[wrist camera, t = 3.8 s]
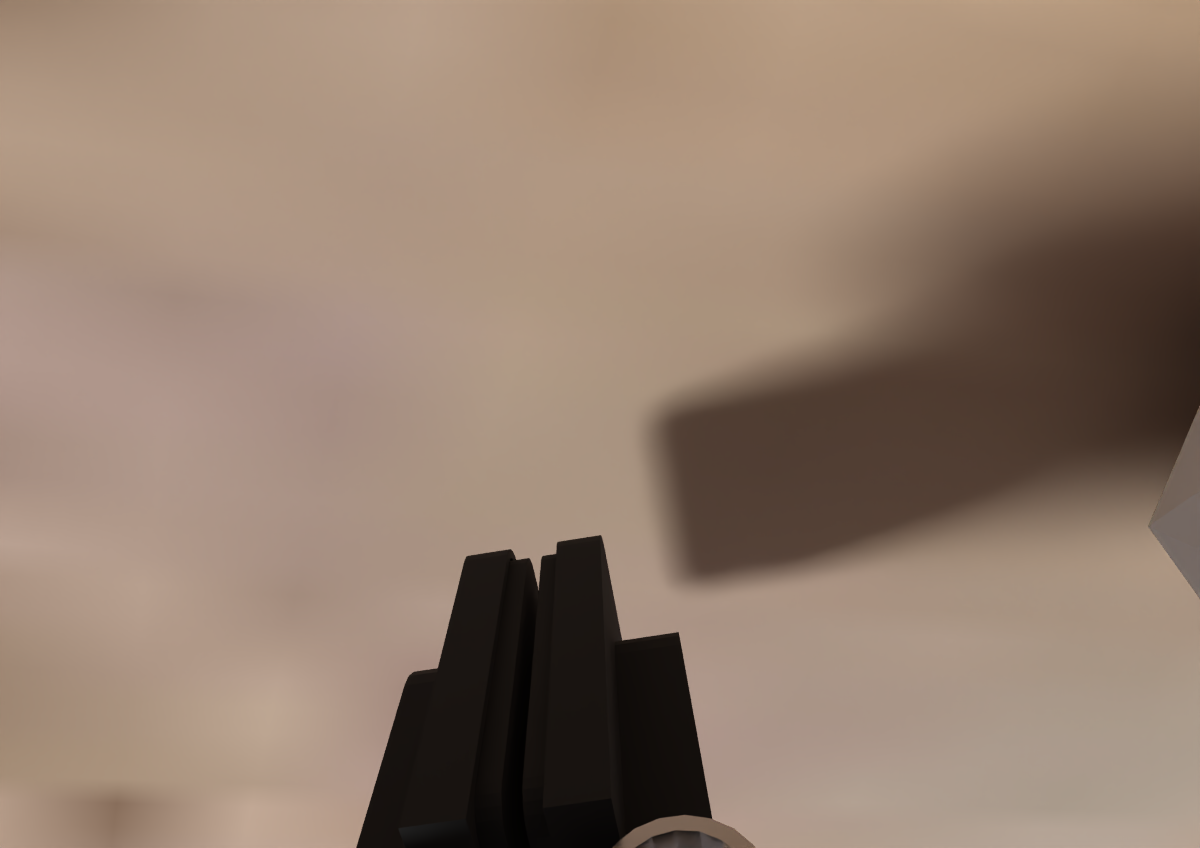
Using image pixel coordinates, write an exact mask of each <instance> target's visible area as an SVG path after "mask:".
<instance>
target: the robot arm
mask: <svg viewBox="0 0 1200 848" xmlns="http://www.w3.org/2000/svg"><path fill="white" fill-rule="evenodd" d="M356 848H755V846H754V845H753V844H752V843H751V842H749V841H748V840H747V839H746V838H745V837H743V836H742V835H741V834H740V833H739V832H737V831H736V830H735V829H734V828H732V827H729V826H727V825H725V824H722V823H720V822H718V821H715V820H713V819H712V815H711V809H710V804H709V798H708V792H707V787H706V781H705V776H704V770H703V765H702V759H701V753H700V748H699V742H698V737H697V731H696V726H695V720H694V715H693V709H692V703H691V698H690V692H689V687H688V681H687V676H686V670H685V664H684V659H683V653H682V648H681V642H680V637H679V632H677V633H670V634H663V635H657V636H650V637H643V638H637V639H630V640H623V641H622V638H621V633H620V627H619V622H618V617H617V611H616V606H615V601H614V596H613V590H612V585H611V580H610V575H609V569H608V564H607V559H606V554H605V549H604V544H603V540H602V537H601V535H599V536H593V537H586V538H580V539H573V540H567V541H561V542H557V551H556V554H553V555H546V556H542V559H541V570H540V581H539V591H538V586H537V582H536V578H535V573H534V569H533V565H532V563H531V560H530V559H529V558H527V559H521V560H516V558H515V555H514V553H513V551H512V550H511V549H509V550H503V551H496V552H490V553H484V554H477V555H471V556H467V557H466V559H465V561H464V565H463V569H462V573H461V577H460V581H459V585H458V589H457V594H456V598H455V602H454V606H453V610H452V614H451V618H450V622H449V626H448V630H447V634H446V638H445V642H444V646H443V650H442V654H441V658H440V662H439V666H438V668H437V669H430V670H424V671H417V672H413V673H412V674H411V675H409V677H408V679H407V681H406V683H405V686H404V689H403V693H402V696H401V699H400V703H399V706H398V709H397V713H396V716H395V720H394V723H393V726H392V730H391V733H390V736H389V740H388V743H387V746H386V750H385V753H384V757H383V760H382V763H381V767H380V770H379V773H378V777H377V780H376V784H375V787H374V790H373V794H372V797H371V800H370V804H369V807H368V810H367V814H366V817H365V821H364V824H363V827H362V831H361V834H360V837H359V841H358V844H357V847H356Z"/></svg>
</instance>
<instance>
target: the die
mask: <svg viewBox="0 0 1200 848" xmlns="http://www.w3.org/2000/svg"><path fill="white" fill-rule="evenodd" d="M1148 527H1149V528H1150V530H1151V531H1152V532H1153V534H1154V535H1155V537H1156V538H1157V539H1158V541H1159V542H1160V544H1161V545H1162V546H1163V548H1164V549H1165V551H1166V552H1167V553H1168V555H1169V556H1170V558H1171V559H1172V560H1173V562H1174V563H1175V565H1176V566H1177V567H1178V569H1179V570H1180V572H1181V573H1182V574H1183V576H1184V577H1185V579H1186V580H1187V581H1188V583H1189V584H1190V586H1191V587H1192V588H1193V590H1194V591H1195V593H1196V594H1197V595H1198V597H1199V598H1200V406H1199V409H1198V411H1197V413H1196V416H1195V418H1194V420H1193V423H1192V425H1191V427H1190V430H1189V432H1188V434H1187V437H1186V439H1185V441H1184V444H1183V446H1182V448H1181V451H1180V453H1179V455H1178V458H1177V460H1176V462H1175V465H1174V467H1173V469H1172V472H1171V474H1170V476H1169V479H1168V481H1167V483H1166V486H1165V488H1164V490H1163V493H1162V495H1161V498H1160V500H1159V502H1158V505H1157V507H1156V509H1155V512H1154V514H1153V516H1152V519H1151V521H1150V523H1149V526H1148Z"/></svg>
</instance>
